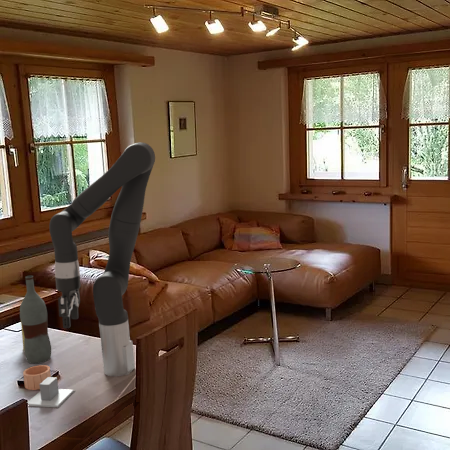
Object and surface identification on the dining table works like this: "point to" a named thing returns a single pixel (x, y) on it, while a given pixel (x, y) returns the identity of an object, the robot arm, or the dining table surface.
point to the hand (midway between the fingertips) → (71, 323)
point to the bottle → (34, 326)
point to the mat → (51, 407)
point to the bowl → (35, 376)
